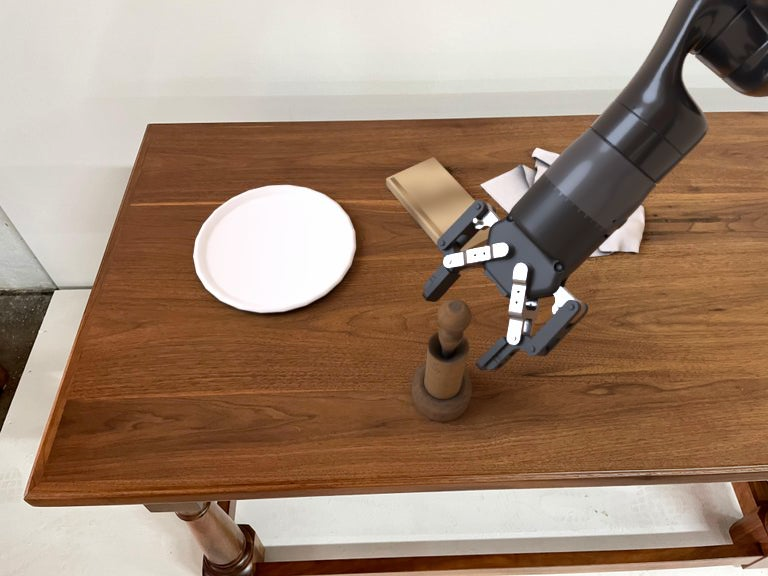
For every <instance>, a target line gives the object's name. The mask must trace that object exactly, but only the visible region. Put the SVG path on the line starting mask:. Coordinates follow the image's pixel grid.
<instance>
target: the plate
mask: <svg viewBox="0 0 768 576" xmlns="http://www.w3.org/2000/svg"><path fill="white" fill-rule="evenodd" d="M356 251H357V240H356V230H355V228H354V225H353V223H352V220H351V218H350V216H349V214H348V213H347V212H346V211H345V210H344V209H343V208H342V206H341V205H340V204H339V203H338V202H336V201H335V200H333V199H332V198H331V197H329V196H328V195H326V194H324V193H322V192H321V191H317V190H314V189H312V188H309V187H305V186H299V185H292V184H278V185H276V184H275V185H265V186H261V187H258V188H253V189H249V190H246V191H245V192H242V193H240V194H237V195H235V196H234V197H232V198H230V199H229V200H227V201H226V202H224V203H223V204H221V205H220V206H219V207H216V209H215V210H214V211H213V212H212V213H211V214H210V215H209V217H208V218H207V219H206V220H205V222H204V223H202V226H201V228H200V230H199V231H198V234H197V235H196V238H195V242H194V248H193V256H192V257H193V262H194V267H195V272H196V275H197V276H198V278H199V280H200V281H201V283H202V285H203V286H204V288H205V289H206V290H207V291H208V292H209V293H210V294H212V296H214V298H216V299H217V300H218V301H219V302H222V303H224V304H225V305H228V306H229V307H230V306H231V307H233V308H235V309H237V310H239V311H244V312H250V313H257V314H273V313H274V314H276V313H285V312H289V311H292V310H293V311H294V310H296V309H299V308H303V307H307V306H309V305H311V304H312V303H314V302H316V301H317V300H319V299H321V298H324V297H326V296H327V295H328V294H329V293H330V292H331V291H332V290H333V289H335V287H337V286H338V285H339V284H340V283H341V282H342V281H343V279H344V278H345V276H346V274H347V273H348V271H349V270H350V268H351V267H352V264H353V260H354V257H355V253H356Z"/></svg>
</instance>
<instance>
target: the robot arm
mask: <svg viewBox="0 0 768 576" xmlns="http://www.w3.org/2000/svg"><path fill="white" fill-rule="evenodd" d="M689 54H690V55H692V56H694V58H695V59H697V60H698V61H699V62H700V63H701V64H702V65H704V66H705V67H706V68H707V69H709V70H710V71H711V72H712V73H713V74H715V76H716V77H718V78H719V79H721V81H723V83H725V84H726V85H727V86H728V87H730V88H731V89H733V91H736V92H737V93H739V94H740V95H743V96H747V97H752V98H768V0H676V3H675V4H674V6H673V8H672V10H671V11H670V13H669V15H668V18H667V20H666V21H665V24H664V25H663V28H662V29H661V32H660V33H659V35H658V37H657V39H656V41H655V42H654V44H653V45H652V47H651V49H650V51H649V53H648V55H647V56H646V57H645V59H644V61H643V62H642V64H641V66H640V67H639V69H638V70H637V71H636V73H634V75H633V76H632V77H631V79H630V81H629V82H628V83H627V84H626V86H625V87H624V88H623V89H622V90H621V91H620V92H619V94H618V95H616V97H615V98H614V100H612V101H611V103H610V104H609V105H608V106H607V107H606V108H605V109H604V110H603V112H601V114H600V115H599V116H598V117H597V118H596V119H595V120H594V122H593V123H591V125H590V126H589V128H587V129H586V130H585V131H584V132H583V133H582V134H581V135H579V136H578V137H576V139H575V140H573V142H571V143H570V144H569V145H568V146H566V148H565V149H564V150H563V151H562V152H561V153H560V154H559V155H560V156H559V157H558V158H557V159H556V160H555V161H554V162H553V163H552V164H551V166H550V167H549V168H548V169H547V170H546V171H545V172H544V173H543V174H542V175H541V177H540V178H539V179H538V180H537V181H536V182H535V183H534V184H533V185H532V186H531V188H530V189H529V190H528V191H527V192H526V193H525V194H524V195H523V196H522V198H521V199H520V200H519V201H518V202H517V203H516V204H515V205H514V206H513V208H512V209H511V211H510V213H508V214H507V215H506V216H505V217H503V218H500V217H499V216H498V214H496V213H497V209H496V207H495V206H494V205H493V204H490V203H488V202H485V201H483V200H481V199H476V200H475V202H474V203H473V204H472V205H471V206H470V207H469V208H468V209H467V210H466V211H465V212H464V213H463V214H462V215H461V216H460V217H459V218H458V219H457V220H456V221H455V222H454V223H453V224H452V226H451V227H450V228H449V229H448V230H447V231H446V232H445V233H444V234H443V235H442V236H441V237H440V238H439V239H438V241H437V245H436V247H437V248H438V250H440V249H441V250H440V251H441V253H442V257H443V260H442V263H441V265H440V266H439V267H438V268H437V269H436V270H435V271H434V272H433V274H432V275H431V276H430V277H429V279H427V280H426V282H424V283H425V284H424V286H423V289H424V291H423V292H422V293H421V296H422V297H423V299H424V300H425V301H426V302H431V303H436V302H438V301H439V300H441V298H442V297H443V296H444V295H445V294H446V293H447V292H448V291H449V289H451V287H453V285H454V284H455V283H456V282H457V281H458V280H459V279H460V278H461V276H462V274H461V271H469V270H475V269H483V272H482V273H483V274H484V276H485V277H486V278H487V279H488V280H489V281H491V282H493V283H494V284H495V286H496V288H497V289H498V292H499V293H500V294H501V295H502V297H504V298H507V299H509V306H508V316H509V320H508V321H509V322H508V327H507V333H506V336H501V337H500V338H499V339H498V340H497V341H496V342H494V344H493V345H491V347H490V348H489V349H488V350H487V351H486V352H485V353H484V354H483V355H481V356H480V357H479V359H478V360H477V361H476V362H475V366H476V368H477V369H478V370H479V371H482V372H483V371H497V370H500V369H502V368H503V367H504V366H505V365H506V364H507V363H509V361H510V360H511V359H512V358H513V357H514V356H515V355H516V354H517V353H518V352H520V351H523V352H524V353H525V354H526V355H527V356H529V357H547V356H548V355H549V354H550V353H551V352H552V351H554V349H555V348H556V347H557V346H558V345H559V343H561V341H562V340H563V339H564V338H565V337H566V336H567V335H568V334H569V333H570V332H571V331H572V330H573V329H574V328H575V327H576V325H578V323H580V321H581V320H582V319H583V318H584V317H585V316H586V315H587V314H588V312H589V305H588V304H587V303H586V302H585V301H582V300H579V299H578V298H577V297H575V296H574V295H573V294H572V292H570V291H569V290H568V289H567V288H566V287H565V286H566V284H567V282H568V279H569V278H570V276H571V275H572V274H573V273H575V272H576V271H577V270H578V269H579V268H580V267H581V266H582V265H583V264H584V263H586V261H587V260H588V259H590V258H591V257H590V256H591V255H592V254H593V253H594V252H595V251H596V250H597V249H598V248H599V247H600V246H601V245H602V244H603V243H604V242H605V241H606V240H607V239H608V238H609V237H610V236H611V235H612V234H613V233H614V232H615V231H616V230H617V229H620V228H621V227H622V226H623V225H624V224H625V223H626V222H627V220H628V218H629V217H630V216H631V215H632V214H633V213H634V212H635V211H636V210H637V209H638V208H639V206H640V205H641V204H642V205H643V203H644V202H645V200H646V199H647V198H648V196H649V195H650V194H651V193H652V191H653V190H654V189H655V188H656V187H657V185H659V184H660V183H661V182H662V181H663V180H664V179H665V178H666V177H667V176H668V175H669V174H670V173H671V172H672V171H673V170H674V169H676V167H677V166H678V165H679V164H680V163H681V162H682V161H683V160H684V158H685V159H686V157H687V156H688V155H689V154H690V153H691V152H692V151H693V150H695V148H696V147H697V146H698V145H699V144H700V143H701V141H702V140H703V139H704V138H705V136H706V135H707V133H708V130H709V121H708V117H706V115H705V112H704V111H703V109H701V107H700V105H699V104H698V103H697V101H696V100H695V98H694V97H693V96H692V95H691V93H690V91H689V90H688V88H687V87H686V84H685V81H684V77H683V75H684V73H683V71H684V65H685V61H686V59H687V57H688V55H689ZM489 227H490V229H489V234H488V239H487V245H486V246H485V247H480V248H475V249H470V250H465V251H464V252H461V249H462V248H463V247H464V246H465V245H466V244H467V243H468V242H469V241H470V240H471V239H472V238H473V237H474V236H475V235H476V234H477V233H478V232H479V231H480V230H486V229H487V228H489ZM553 297H554V298H555V299H554V301H555V302H554V304H553V305H552V308H551V311H552V314H553V315H552V316H551V317H549V319H548V320H547V321H546V322H545V324H543V326H542V327H541V328H540V329H539V330H538V331H537V332H536V333H535V335H534V336H533V333H534V327H535V322H536V320H537V319H538V317H539V311H540V305H541V300H542V299H546V298H553Z"/></svg>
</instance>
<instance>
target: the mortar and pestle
mask: <svg viewBox="0 0 768 576" xmlns="http://www.w3.org/2000/svg"><path fill="white" fill-rule="evenodd" d="M436 316H437V317H436V318H437V322H438V325H439V326H440V328H439V330H437V331H435V332H434V333H433V334H432V335H431V336H430V337H429V339H428V343H427V351H426V361H425V362H423V363H422V364H421V365H420V366H419V367H418V368H417V369H416V371H415V372H414V374H413V377H412V381H411V389H410V390H411V391H410V392H411V398H412V402H413V404H414V407H415V408H416V409H417V411H418V412H419V414H421V415H422V416H423V417H424V418H427V419H429V420H431V421H433V422H434V421H435V422H441V423H445V422H451V421H454V420H456V419H458V418H459V417H461V416H462V415H463V414H464V413H465V412H466V410H467V409H468V407H469V405H470V401H471V397H472V393H473V384H472V380H471V377H470V376H469V373H468V371H466V370H465V369H466V368H465V367H466V363H467V360H468V357H469V352H470V343H469V341H468V339H467V337H466V336H465V334H464V332H465V331H466V330H467V329H468V328H469V326H470V324H471V322H472V318H473V315H472V310H471V307H470V306H469V305H468V303H467V302H465V301H464V300H461V299H459V298H450V299H447V300H445V301H444V302H443V303H442V304H441V305H440V306H439V308H438V310H437V315H436Z"/></svg>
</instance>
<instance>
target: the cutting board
mask: <svg viewBox="0 0 768 576" xmlns="http://www.w3.org/2000/svg"><path fill="white" fill-rule="evenodd" d="M385 186H386V188H387V189H388V190H389V191H390V192H391V194H392V195H393V196H394V197H395V198H396V199H397V200H398V202H399V203H400V204H401V205H402V206H403V208H404V209H405V210H406V211H407V213H409V215H410V216H411V217H412V218H413V220H415V222H416V223H417V224H418V225H419V227H420V228H421V229H422V230H423V231H424V232H425V233H426V235H427V236H428V237H429V238H430V239H431V240H432V242H433V243H434V244H435V245H436V246H437V241H438V239H439V238H440V237H441V236H442V235H443V234H444V233H445V232H446V231H447V230H448V229H449V228H450V227H451V226H452V224H453V223H454V222H455V221H456V220H457V219H458V218H459V217H460V216H461V215H462V214H463V213H464V212H465V211H466V210H467V209H468V208H469V207H470V206H471V205H472V204H473V203H474V202H475V201H476V200H475V199H474V198H473V197H472V196H471V195H470V193H468V191H467V190H466V189H465V188H464V187H463V186H462V184H460V183H459V182H458V181H457V180H456V179H455V178H454V176H452V175H451V174H450V173H449V171H448V170H447V169H446V168H444V166H443V165H442V164H441V163H440V162H439V161H438V159H437V158H436V157H434V156H432V157H430V158H428V159H426V160H424V161H421V162H418V163H416V164H414V165H413V166H410V167H408V168H405V169H403V170H402V171H399V172H397V173H394V174H393V175H390V176H388V177H386V179H385ZM489 229H490V227H489V228H487V229H486V230H480V231H479V232H478V233H477V234H476V235H475V236H474V237H473V238H472V239H471V240H470V241H469V242H468V243H467V244H466V245H465V246H464V247H463V248H462V249H461V252H464V251H465V250H470V249H475V248H480V247H486V245H487V239H488V234H489ZM439 250H440V251H441V249H439Z"/></svg>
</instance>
